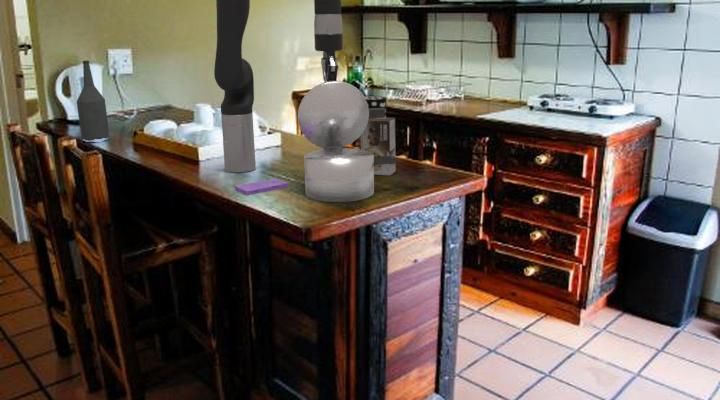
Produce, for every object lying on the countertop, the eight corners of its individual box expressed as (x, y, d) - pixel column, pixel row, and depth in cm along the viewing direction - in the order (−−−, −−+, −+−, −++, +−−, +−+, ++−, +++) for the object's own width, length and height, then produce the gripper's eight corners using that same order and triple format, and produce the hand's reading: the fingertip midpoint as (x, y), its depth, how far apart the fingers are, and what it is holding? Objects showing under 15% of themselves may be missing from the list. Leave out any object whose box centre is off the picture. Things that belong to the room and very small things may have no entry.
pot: (310, 204, 154) (308, 164, 151) (301, 185, 171) (300, 150, 168) (403, 197, 159) (404, 159, 156) (386, 180, 176) (386, 145, 173)
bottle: (76, 141, 237) (65, 61, 229) (98, 137, 245) (88, 59, 237) (93, 144, 232) (82, 61, 223) (115, 139, 240) (106, 60, 231)
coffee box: (396, 171, 186) (396, 117, 182) (390, 176, 181) (390, 120, 176) (367, 169, 189) (367, 116, 185) (360, 173, 183) (359, 119, 179)
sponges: (288, 189, 170) (288, 182, 169) (246, 197, 163) (246, 190, 162) (276, 184, 175) (275, 177, 175) (234, 191, 168) (234, 184, 167)
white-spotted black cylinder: (359, 158, 204) (358, 96, 198) (384, 157, 205) (384, 96, 199) (361, 163, 196) (360, 100, 190) (387, 163, 197) (387, 99, 191)
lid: (298, 83, 158) (296, 79, 161) (298, 152, 168) (297, 147, 171) (387, 80, 163) (384, 76, 166) (383, 148, 173) (380, 142, 176)
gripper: (311, 32, 171) (313, 95, 176) (318, 33, 158) (320, 101, 163) (337, 31, 172) (339, 94, 177) (347, 32, 160) (348, 100, 165)
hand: (330, 97), depth 170 cm, fingers closed
